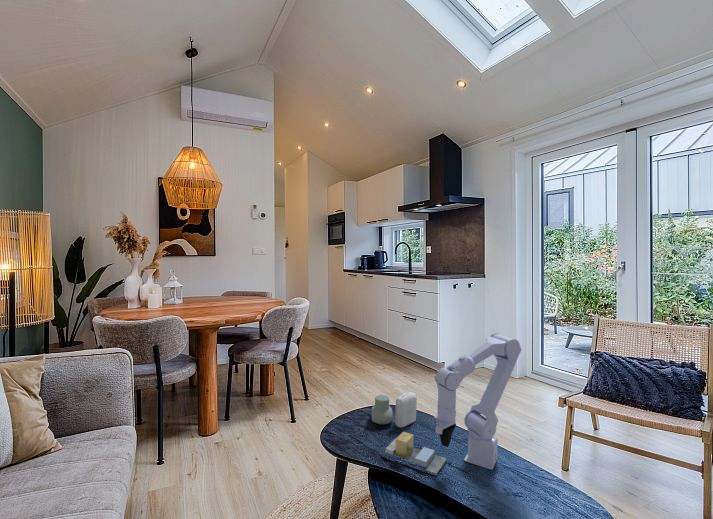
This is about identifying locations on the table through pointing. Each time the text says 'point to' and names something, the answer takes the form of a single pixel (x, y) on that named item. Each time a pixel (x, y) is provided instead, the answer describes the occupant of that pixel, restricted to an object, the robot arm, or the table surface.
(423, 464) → the block
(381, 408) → the air freshener
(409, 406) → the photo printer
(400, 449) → the brass block
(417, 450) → the vise
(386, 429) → the table surface
